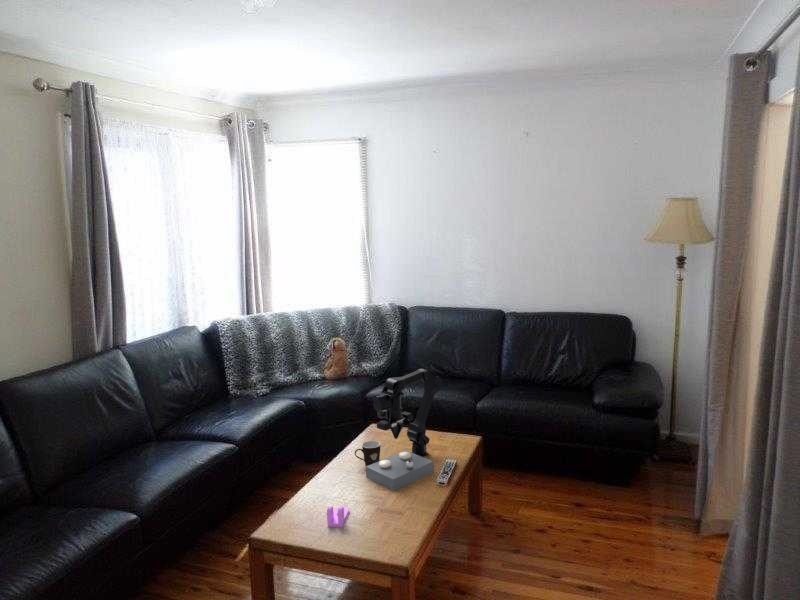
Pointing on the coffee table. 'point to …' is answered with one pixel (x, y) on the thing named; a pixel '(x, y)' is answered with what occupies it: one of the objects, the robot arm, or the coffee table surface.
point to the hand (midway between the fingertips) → (395, 438)
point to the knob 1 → (384, 464)
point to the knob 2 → (404, 455)
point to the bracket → (337, 516)
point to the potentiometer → (409, 465)
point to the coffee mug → (370, 452)
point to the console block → (399, 471)
